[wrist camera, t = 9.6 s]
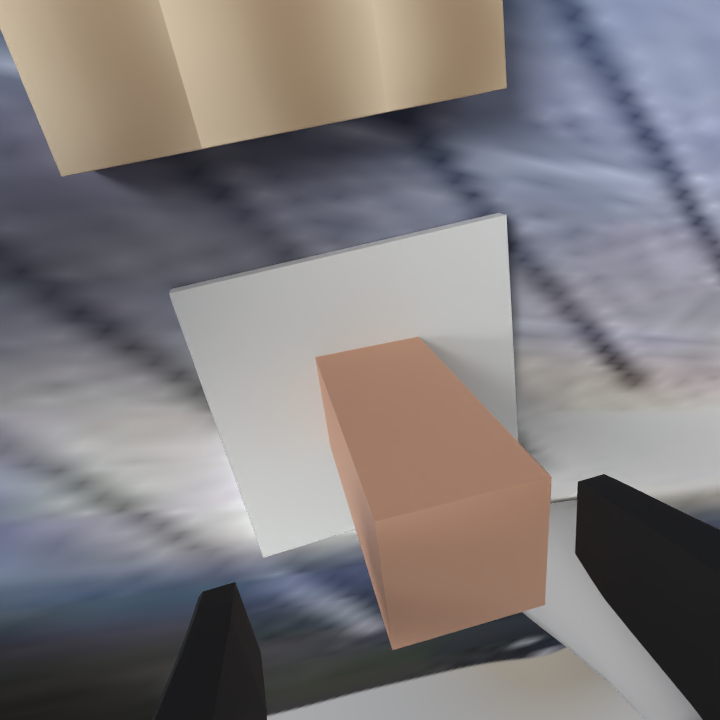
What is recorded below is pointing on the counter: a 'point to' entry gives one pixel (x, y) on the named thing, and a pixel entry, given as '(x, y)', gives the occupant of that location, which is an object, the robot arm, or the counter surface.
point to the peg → (434, 492)
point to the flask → (600, 628)
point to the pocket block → (237, 68)
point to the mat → (332, 335)
